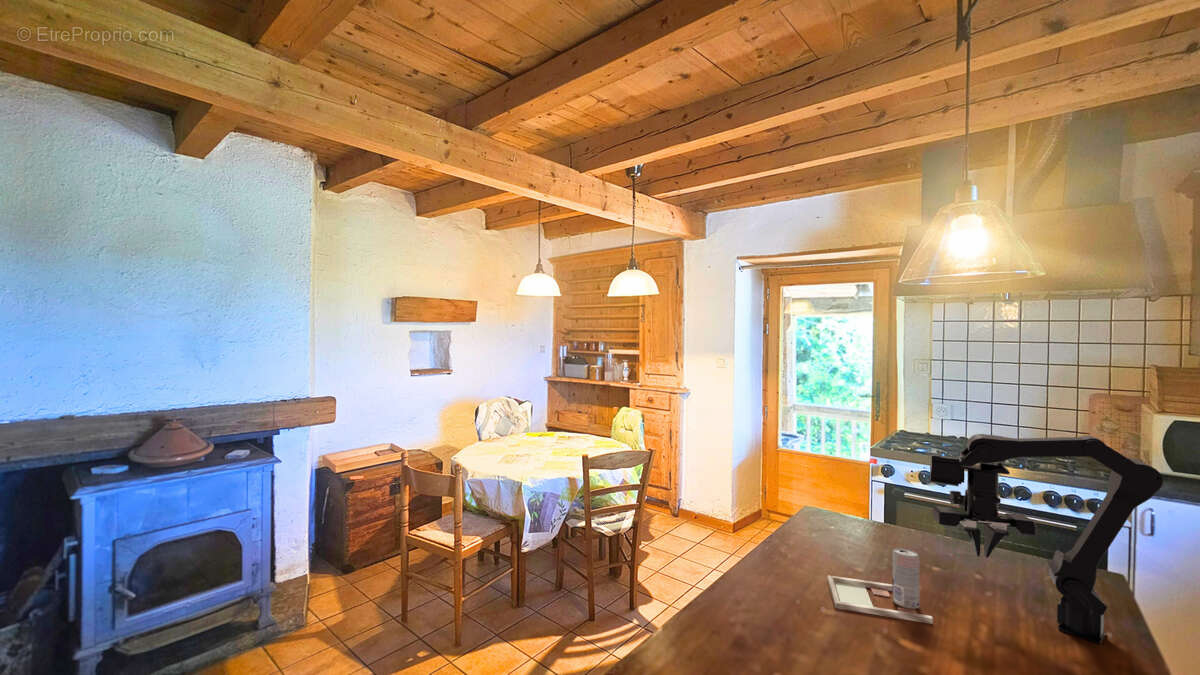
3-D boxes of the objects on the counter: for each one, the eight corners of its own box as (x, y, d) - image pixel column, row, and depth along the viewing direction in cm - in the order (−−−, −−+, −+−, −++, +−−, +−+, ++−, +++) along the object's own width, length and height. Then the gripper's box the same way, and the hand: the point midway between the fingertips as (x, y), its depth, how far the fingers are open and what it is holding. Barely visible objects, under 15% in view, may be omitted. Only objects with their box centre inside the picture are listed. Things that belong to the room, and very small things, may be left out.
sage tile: (865, 587, 124) (865, 586, 124) (875, 612, 113) (875, 611, 113) (834, 582, 127) (834, 582, 127) (841, 606, 115) (841, 606, 115)
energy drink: (911, 599, 119) (911, 548, 119) (924, 610, 113) (923, 557, 114) (888, 597, 119) (888, 547, 120) (899, 608, 114) (899, 555, 115)
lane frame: (914, 592, 122) (914, 587, 122) (932, 623, 109) (932, 618, 109) (827, 579, 128) (827, 575, 128) (835, 608, 115) (835, 602, 115)
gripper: (1014, 483, 120) (1013, 548, 120) (925, 476, 126) (924, 537, 126) (1038, 498, 109) (1037, 568, 109) (940, 489, 115) (939, 556, 115)
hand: (981, 556), depth 115 cm, fingers closed
